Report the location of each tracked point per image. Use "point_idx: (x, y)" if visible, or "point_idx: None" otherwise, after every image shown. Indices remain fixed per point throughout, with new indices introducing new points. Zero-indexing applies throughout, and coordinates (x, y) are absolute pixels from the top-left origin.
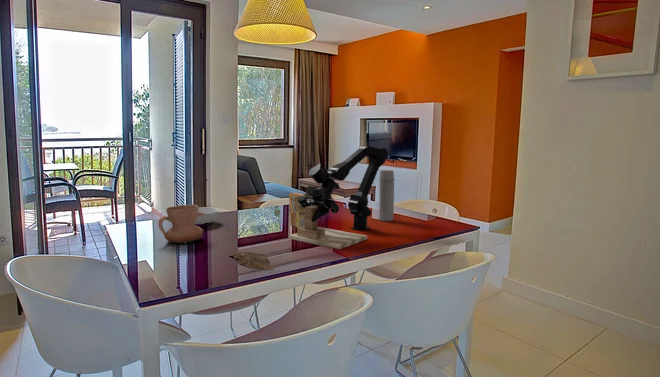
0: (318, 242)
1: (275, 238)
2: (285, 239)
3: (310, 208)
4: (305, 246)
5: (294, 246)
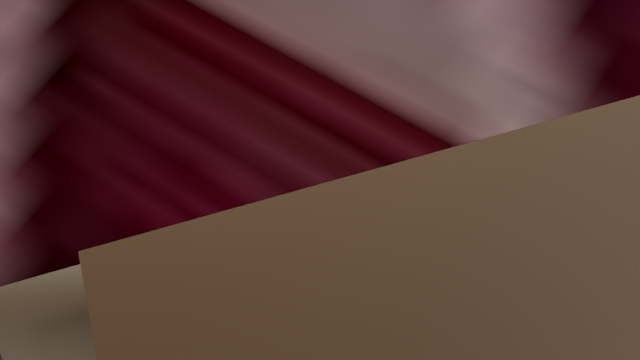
0: (40, 280)
1: (626, 30)
2: (525, 96)
3: (152, 232)
4: (111, 120)
5: (193, 28)
